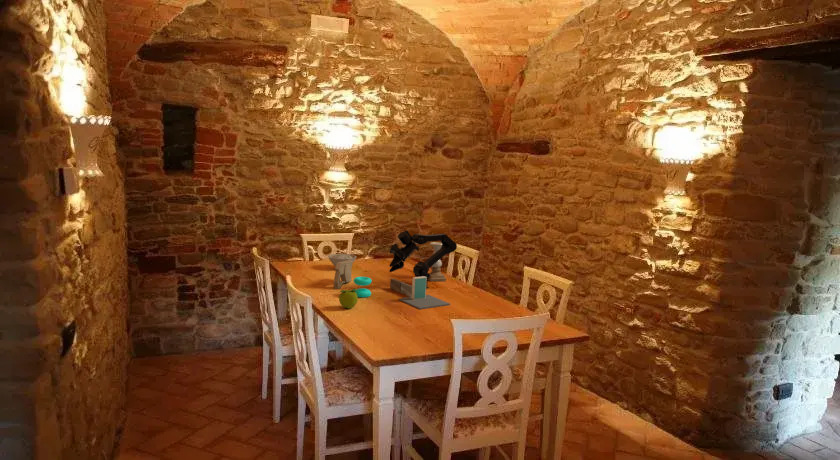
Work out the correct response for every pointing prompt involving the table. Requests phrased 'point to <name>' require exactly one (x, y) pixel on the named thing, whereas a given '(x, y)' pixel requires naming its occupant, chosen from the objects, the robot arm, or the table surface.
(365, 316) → the table surface
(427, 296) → the grey square plate
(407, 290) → the brown upright panel
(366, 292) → the donuts
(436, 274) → the candle holder
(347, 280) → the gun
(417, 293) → the tile
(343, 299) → the fruit
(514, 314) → the table surface
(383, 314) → the table surface
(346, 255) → the bowl
